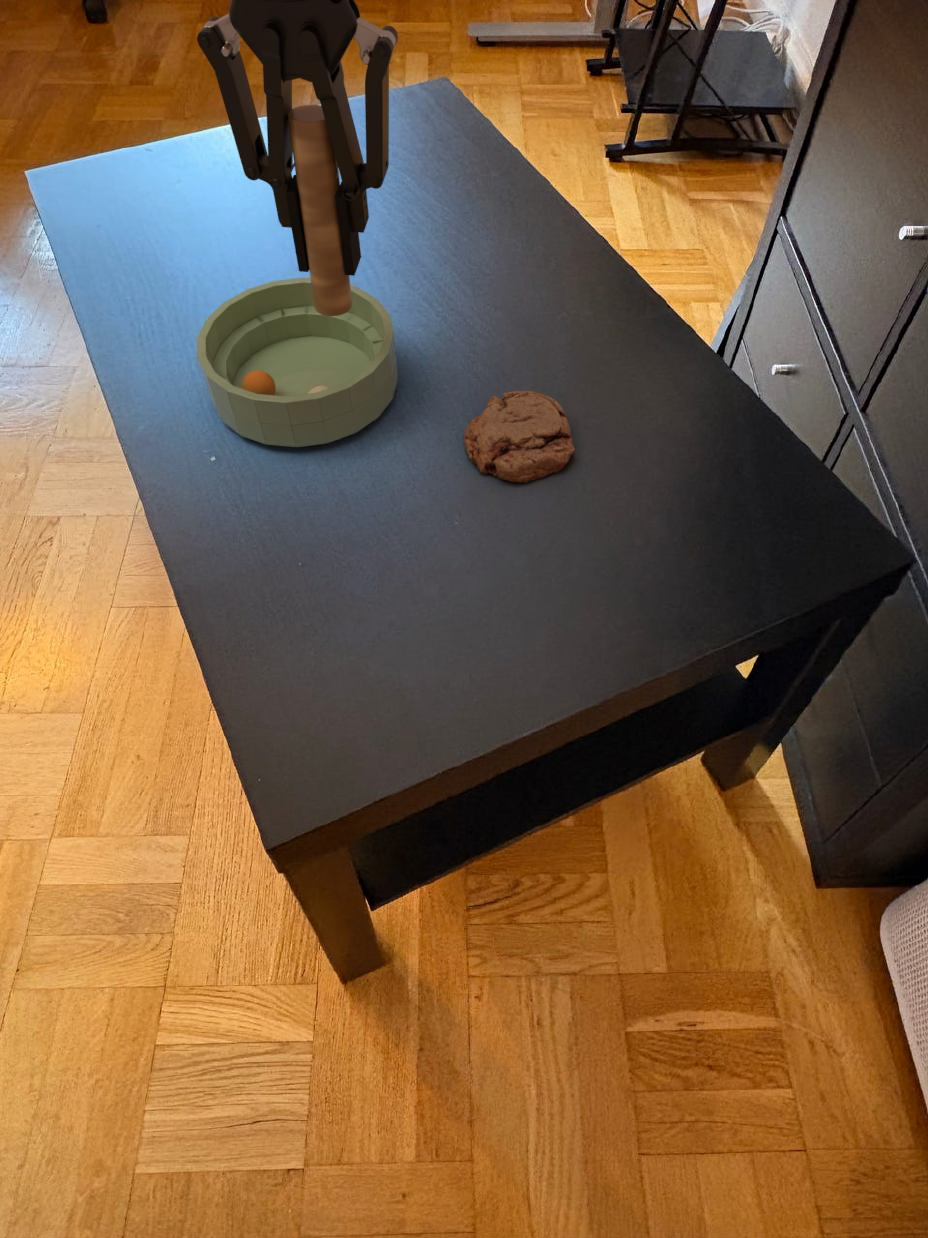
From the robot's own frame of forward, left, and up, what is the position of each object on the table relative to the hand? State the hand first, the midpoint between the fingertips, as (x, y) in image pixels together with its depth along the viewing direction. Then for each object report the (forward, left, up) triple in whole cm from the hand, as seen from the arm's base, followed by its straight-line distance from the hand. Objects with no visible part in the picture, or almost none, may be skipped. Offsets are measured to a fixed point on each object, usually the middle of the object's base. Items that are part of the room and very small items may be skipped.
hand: (330, 263), depth 70 cm
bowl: (-4, 0, -14) cm, 14 cm away
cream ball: (-1, -4, -11) cm, 12 cm away
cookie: (+17, -5, -14) cm, 22 cm away
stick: (0, -1, -3) cm, 4 cm away
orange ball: (-8, -3, -11) cm, 14 cm away
